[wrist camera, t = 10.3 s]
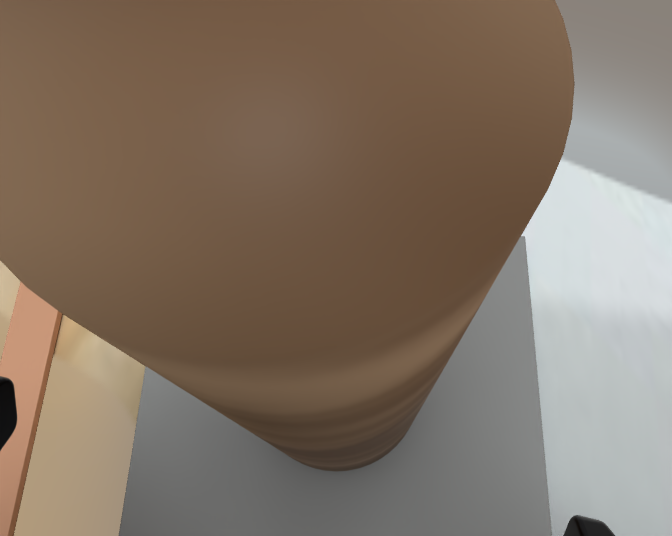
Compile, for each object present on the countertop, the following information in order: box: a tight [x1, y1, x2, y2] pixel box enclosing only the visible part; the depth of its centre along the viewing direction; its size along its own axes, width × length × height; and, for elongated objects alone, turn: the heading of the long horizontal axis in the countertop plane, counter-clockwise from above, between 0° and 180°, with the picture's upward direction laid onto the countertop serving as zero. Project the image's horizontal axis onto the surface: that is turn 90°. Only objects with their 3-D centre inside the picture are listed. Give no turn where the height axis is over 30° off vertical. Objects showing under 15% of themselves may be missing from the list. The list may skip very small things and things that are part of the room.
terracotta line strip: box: [0, 282, 62, 536], centre depth 18 cm, size 20×2×1 cm, turn 178°
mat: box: [119, 236, 552, 536], centre depth 17 cm, size 14×12×1 cm
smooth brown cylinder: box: [0, 0, 574, 471], centre depth 11 cm, size 5×5×14 cm
